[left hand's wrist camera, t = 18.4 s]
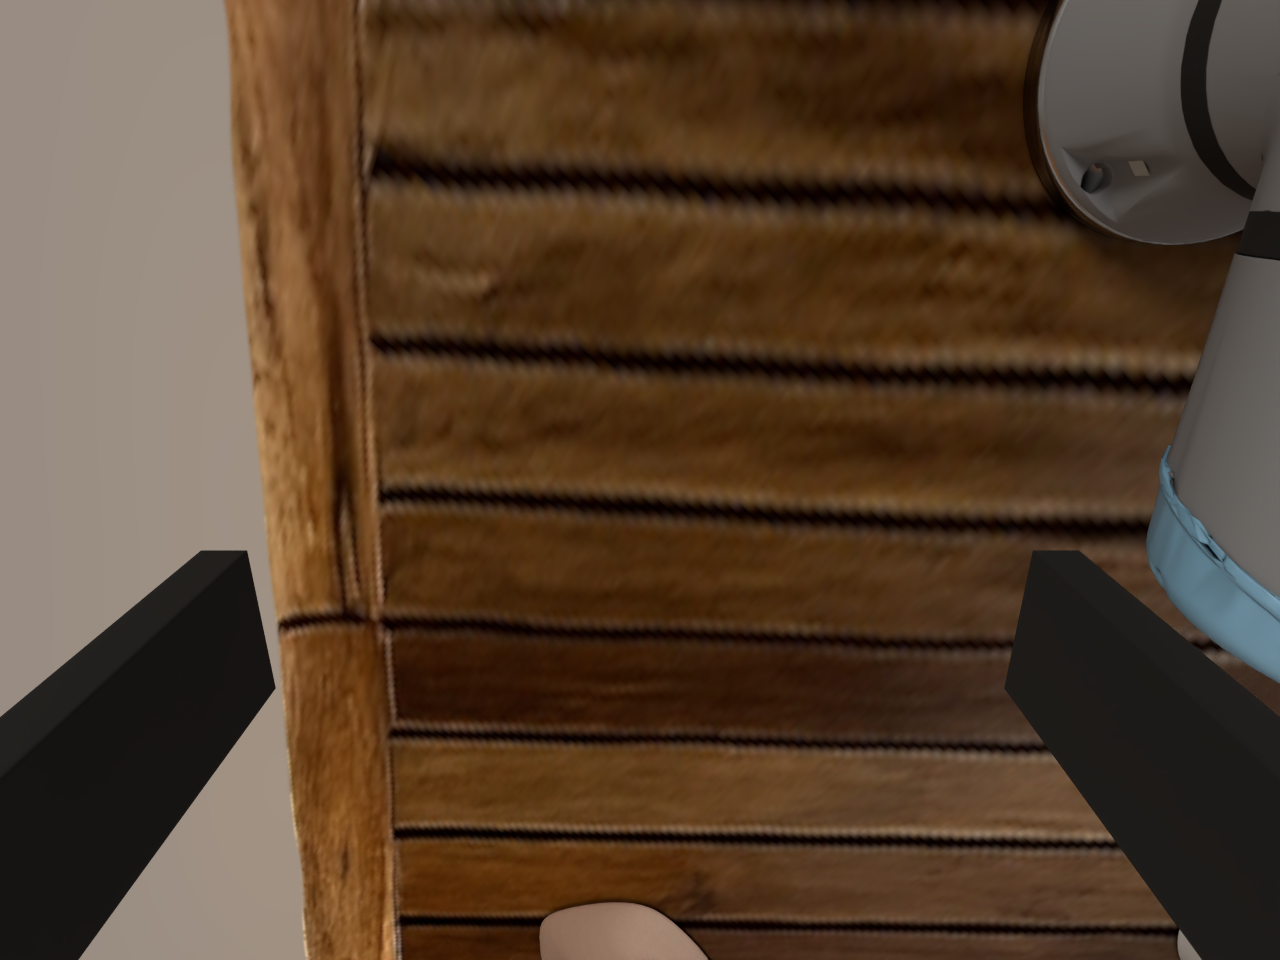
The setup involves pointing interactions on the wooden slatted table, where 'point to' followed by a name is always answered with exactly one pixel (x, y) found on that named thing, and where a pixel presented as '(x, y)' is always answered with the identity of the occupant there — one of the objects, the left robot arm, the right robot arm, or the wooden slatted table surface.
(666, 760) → the wooden slatted table surface
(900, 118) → the wooden slatted table surface
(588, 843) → the wooden slatted table surface
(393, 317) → the wooden slatted table surface
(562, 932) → the anatomical model
